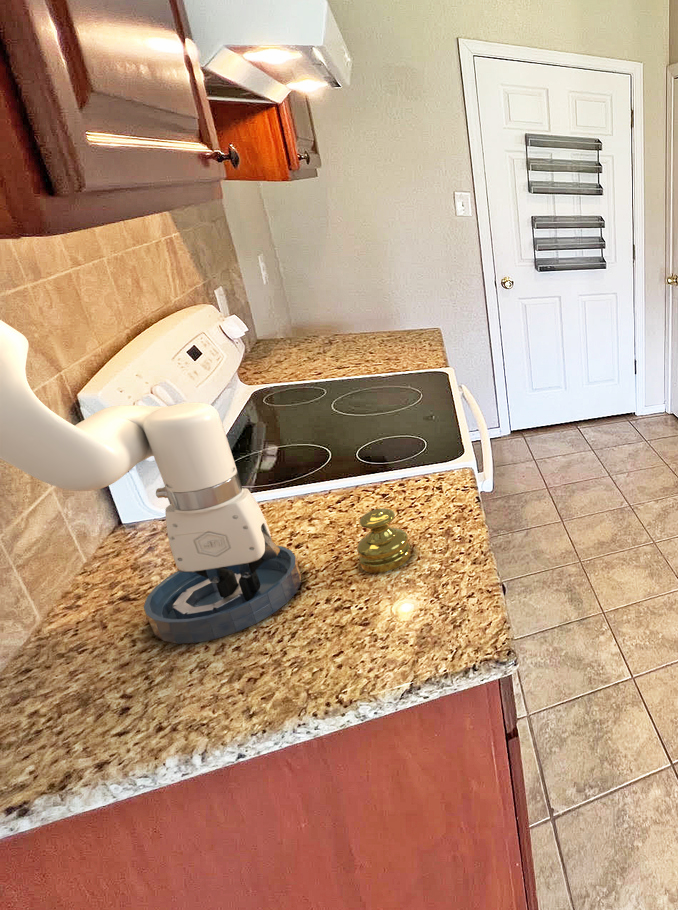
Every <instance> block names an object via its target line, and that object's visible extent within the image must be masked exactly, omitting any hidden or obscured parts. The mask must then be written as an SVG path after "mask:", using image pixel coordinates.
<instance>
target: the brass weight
mask: <svg viewBox="0 0 678 910" xmlns="http://www.w3.org/2000/svg"><path fill="white" fill-rule="evenodd" d="M395 516H396V514H395V512H394V511H393V510H392V509H390V508H375V509H373V510H370V511H368V512H366V513H364V514H363V515H362V516H361V517H360V519H359V525H360V526H361V527H362V528H364V529H368V530H369V532H367V533H366V535H365V536H364V537H362V538H361V539H360V540H359V542H358V543H357V545H356V552H357V554H358V556H359V558H358V560H359V562H360V567H361V569H362V570H363V571H364V572H367V573H371V574H381V573H382V574H383V573H386V572H390V571H393V570H396V569H397V568H399V567H401V566H403V565H404V564H406V563H407V561H408V560H409V559H410V558H411V553H412V552H411V545H410V543H409V535H408V533H407V532H406V531H405V530H404V529H401V528H398V527H394V526H390V524H391V522H392V521H394V519H395Z"/></svg>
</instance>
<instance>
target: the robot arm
mask: <svg viewBox="0 0 678 910" xmlns="http://www.w3.org/2000/svg"><path fill="white" fill-rule="evenodd" d="M29 348H30V344H29V341H28V339H27V337H26V336H25V335H24V333H21V332H20V331H18V330H17V329H15V328H14V327H12V326H10V325H9V324H8V323H6V322H5V321H3V320H1V319H0V460H2V461H4V462H6V463H8V464H9V465H11V466H13V467H15V468H16V469H18V470H20V471H22V472H24V473H25V474H28V476H29V475H30V476H32V477H33V478H35V479H37V480H39V481H41V482H43V483H46V484H48V485H51V486H53V487H57V488H60V489H63V490H67V491H74V492H91V491H97V490H101V489H104V488H106V487H109V486H111V485H113V484H115V483H116V482H118V481H119V480H120V479H122V478H123V477H124V476H125V475H126V474H128V473H129V472H130V471H131V470H132V469H133V468H134V467H136V465H138V464H139V463H141V462H142V461H145V460H147V459H149V458H150V457H153V458H154V461H155V463H156V466H157V468H158V472H159V474H160V477H161V479H162V482H163V485H164V486H163V487H158V488H157V489H156V490H155V496H156V498H158V499H162V498H164V499H167V500H168V503H169V505H168V506H166V508H165V525H166V534H167V538H168V544H169V547H170V551H171V555H172V558H173V562H174V564H175V565H176V567H177V568H176V569H177V570H176V571H179V572H186V573H197V574H199V575H201V576H203V577H206V578H208V579H209V580H210V582H211V583H216V585H217V588H218V591H219V594H220V596H221V597H223V598H226V597H228V596H230V595H231V594H233V593H234V591H235V589H236V588H237V586H238V583H237V580H236V577H235V574H234V572H233V571H232V570H228V567H227V566H233V565H238V567H239V570H240V573H241V577H240V579H239V585H240V588H241V591H242V593H243V595H244V598H245V600H246V601H249V600H251V599H253V597H254V595H255V594H256V592H257V591H258V590H259V589H260V581H259V578H258V575H257V572H256V569H257V568H258V567H259V566H260V565H261V564H262V563H263V562H266V561H268V560H271V559H273V558H275V557H276V556H277V555H278V553H279V552H280V549H279V548H278V547H277V546H278V545H277V544H276V543H275V542H274V541H273V540H272V535H271V530H270V528H269V525H268V523H267V520H266V518H265V515H264V513H263V511H262V510H261V507H260V506H259V504H258V502H257V500H256V498H255V497H254V496H253V494H252V493H251V491H250V490H249V489H248V488H247V487H246V488H244V487H243V485H242V482H241V478H240V475H239V472H238V468H237V466H236V462H235V459H234V456H233V453H232V450H231V446H230V443H229V440H228V437H227V434H226V431H225V428H224V425H223V421H222V418H221V415H220V413H219V411H218V409H217V408H216V407H214V406H213V405H211V404H209V403H205V402H184V403H177V404H172V405H168V406H160V405H158V406H157V405H139V404H138V405H137V404H136V405H135V404H123V405H122V404H121V405H120V404H119V405H113V406H108V407H105V408H102V409H100V410H98V411H96V412H94V413H93V414H91V415H90V416H88V417H87V418H85V419H83V420H81V421H80V422H77V424H75V425H74V424H72V423H71V422H69V421H68V420H66V419H64V418H62V417H61V416H60V415H58V414H57V413H55V412H54V411H52V410H51V409H50V408H49V407H48V406H46V405H45V404H44V403H43V402H42V401H41V399H39V397H37V396H36V394H35V392H34V391H33V389H32V388H31V386H30V384H29V382H28V377H27V371H26V366H27V359H28V353H29Z"/></svg>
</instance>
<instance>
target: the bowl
mask: <svg viewBox="0 0 678 910" xmlns="http://www.w3.org/2000/svg"><path fill="white" fill-rule="evenodd" d="M277 547H278V548H279V549H280V552H279V553H278V555H277V556H276V557H275V558H273V559H271V560H268V561H266V562H263V563H262V564H261V565H260V566H259V567H258V568H257V569H256V572H257V575H258V578H259V581H260V589H259V590H258V591H257V592H256V594H255V595H254V597H253V599H251V600H249V601H247V602H245V603H243V604H240V605H238V606H235V607H233V608H231V609H228V610H225V611H221V612H218V613H215V614H211V615H208V616H202V617H197V618H191V619H179V618H177V617H176V615H175V613H174V610H173V606H172V605H173V604H174V603H175V601H176V600H177V599H178V597H179V596H180V595H181V593H182V592H186V589H188V588H190V587H193V586H195V585H197V584H199V583H201V582H203V581H205V580H207V579H208V578H206V577H203V576H201V575H199V574H197V573H186V572H179V571H178V570H176V571H175V572H174V573H172V574H170V575H169V576H167V577H166V578H165V579H163V580H162V581H161V582H160V583H158V584H157V585H156V586H155V587H154V588H153V589H152V591H151V592H150V593H149V594H148V595H147V596H146V598H145V602H144V605H143V610H144V612H145V615H146V618H147V620H148V622H149V625H150V627H151V630H152V632H153V634H154V636H155V637H157V638H159V639H160V640H162V641H163V642H167V643H171V644H173V643H174V644H177V645H178V644H180V645H181V644H196V643H202V642H206V641H212V640H217V639H220V638H223V637H227V636H229V635H233V634H235V633H238V632H240V631H242V630H244V629H247V628H249V627H252V626H254V625H256V624H258V623H260V622H261V621H263V620H266V618H268V617H270V616H271V615H273V614H275V613H276V612H277V611H278V610H280V609H281V608H282V607H284V606H285V605H286V604H287V603H289V601H290V600H291V599H292V598H293V597H294V596H295V595H296V594H297V592H298V590H299V588H300V586H301V584H302V574H301V570H300V566H299V563H298V560H297V557H296V555H295V554H294V553H293V551H292V550H291V549H289V548H288V547H286V546H285V547H284V546H282V545H277ZM227 567H228V570H232V571H233V572H234V574H241V573H240V570H239V567H238V565H233V566H227ZM222 599H224V598H223V597H221V596H220V594H219V591H215V592H213V593H211V594H209V595H207V596H205V597H203V598H202V599H200V600H198V601H196V602H195V604H194V605H193V607H199V606H204V605H210V604H214V603H216V602H218V601H220V600H222Z"/></svg>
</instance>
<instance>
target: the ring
mask: <svg viewBox="0 0 678 910" xmlns="http://www.w3.org/2000/svg"><path fill="white" fill-rule="evenodd" d="M235 577H236V580H237V583H238V586H237V588H236V589H235V591H234V593H233V594H231V595H230V596H228V597H226V598H224V599H222V600H220V601H218V602H216V603H214V604H210V605H204V606H199V607H193V605H194V604H195V602H196V601H198V600H200V599H202V598H203V597H205V596H207V595H209V594H211V593H213V592H215V591H218V588H217V585H216V583H211V582H210V580H209V579H207V580H205V581H203V582H201V583H199V584H197V585H195V586H193V587H190V588H188V589H186V592H182V593H181V595H180V596H179V597H178V599H177V600H176V601H175V603H174V604H173V605H172V606H173V610H174V613H175V615H176V617H177V618H179V619H191V618H197V617H202V616H208V615H211V614H215V613H218V612H221V611H225V610H228V609H231V608H233V607H235V606H238V605H240V604H243V603H245V602H247V601H246V600H245V598H244V595H243V593H242V591H241V588H240V585H239V579H240V577H241V574H235Z"/></svg>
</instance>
